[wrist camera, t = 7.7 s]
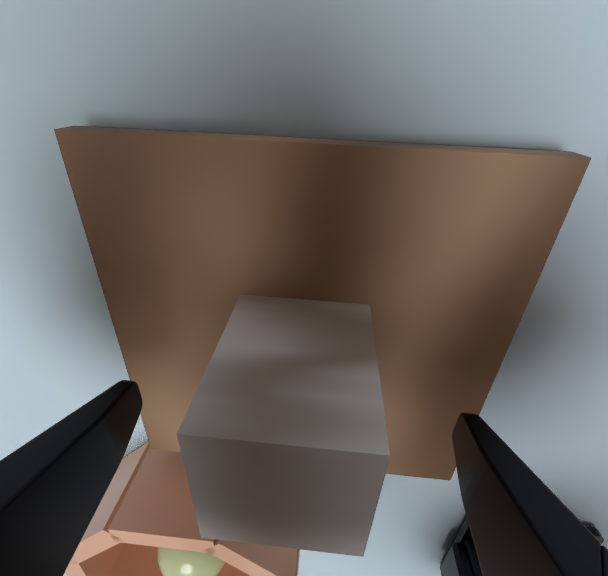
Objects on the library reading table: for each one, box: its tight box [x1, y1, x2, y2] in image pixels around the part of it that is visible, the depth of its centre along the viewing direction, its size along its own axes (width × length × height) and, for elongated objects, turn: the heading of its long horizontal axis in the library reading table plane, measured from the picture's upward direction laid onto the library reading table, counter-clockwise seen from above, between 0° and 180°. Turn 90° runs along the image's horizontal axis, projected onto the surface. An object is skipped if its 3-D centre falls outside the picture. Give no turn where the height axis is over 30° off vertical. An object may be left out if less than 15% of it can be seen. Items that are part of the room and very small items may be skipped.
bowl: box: [65, 441, 300, 576], centre depth 18 cm, size 11×11×4 cm
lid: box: [54, 126, 591, 556], centre depth 10 cm, size 13×13×6 cm
